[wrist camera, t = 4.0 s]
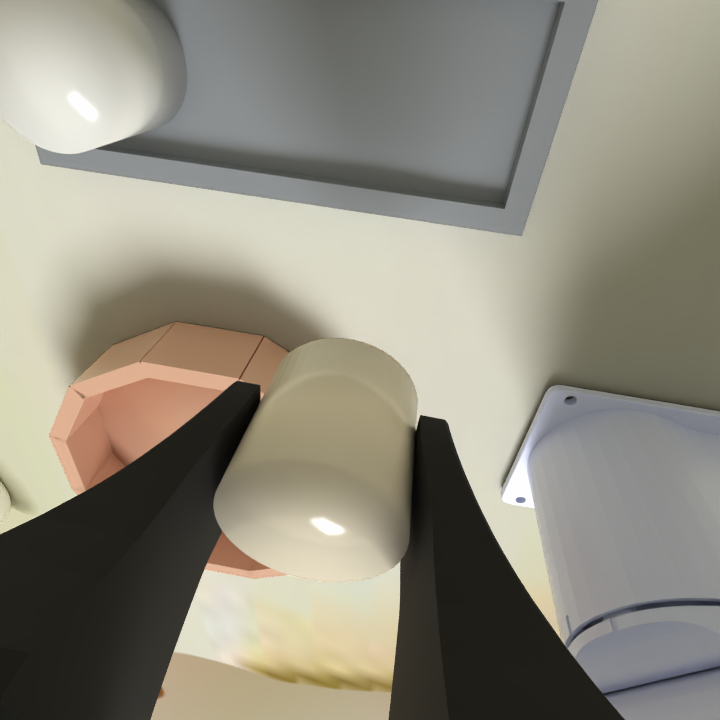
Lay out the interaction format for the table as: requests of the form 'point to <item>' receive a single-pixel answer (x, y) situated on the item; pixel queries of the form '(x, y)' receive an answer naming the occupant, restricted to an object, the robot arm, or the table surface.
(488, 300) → the table surface
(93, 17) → the pale grey cylinder
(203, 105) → the parts tray
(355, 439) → the cream marshmallow
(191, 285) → the table surface
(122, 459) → the bowl
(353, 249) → the table surface
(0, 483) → the mug
